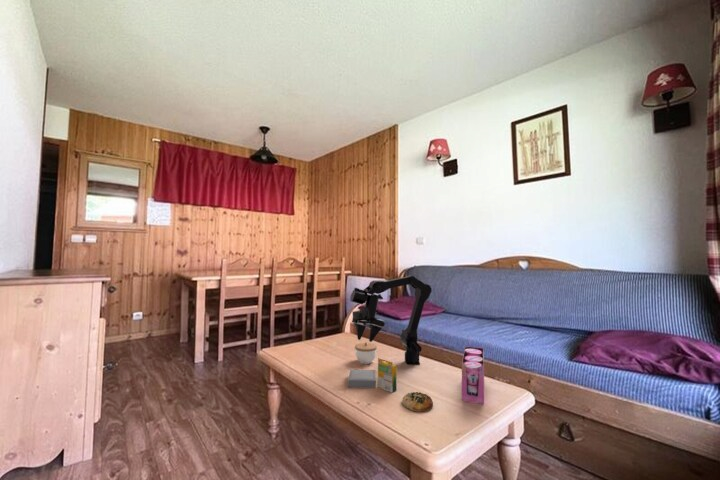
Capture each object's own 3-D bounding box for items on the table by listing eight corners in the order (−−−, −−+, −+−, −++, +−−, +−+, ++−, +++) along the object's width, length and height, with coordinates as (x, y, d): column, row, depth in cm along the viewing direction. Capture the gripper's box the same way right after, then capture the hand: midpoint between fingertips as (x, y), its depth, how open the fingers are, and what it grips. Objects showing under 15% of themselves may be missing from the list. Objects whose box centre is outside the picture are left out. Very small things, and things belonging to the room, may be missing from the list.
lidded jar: (377, 365, 146) (377, 345, 147) (354, 365, 147) (354, 345, 147) (376, 358, 157) (376, 339, 158) (355, 357, 157) (355, 339, 158)
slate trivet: (375, 376, 133) (375, 369, 133) (375, 388, 122) (375, 380, 122) (350, 376, 134) (350, 369, 134) (348, 387, 123) (348, 379, 123)
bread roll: (437, 401, 111) (436, 388, 111) (427, 420, 102) (426, 405, 101) (408, 395, 117) (407, 382, 117) (396, 412, 107) (395, 398, 107)
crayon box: (396, 390, 120) (396, 360, 121) (392, 393, 118) (392, 362, 119) (382, 385, 125) (382, 356, 126) (377, 387, 123) (377, 358, 123)
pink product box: (484, 406, 108) (484, 367, 109) (460, 402, 111) (460, 364, 112) (484, 380, 130) (484, 348, 131) (464, 377, 133) (464, 345, 134)
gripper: (346, 302, 149) (339, 335, 144) (369, 302, 134) (361, 339, 129) (364, 308, 155) (358, 340, 149) (388, 308, 139) (382, 344, 134)
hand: (364, 340), depth 140 cm, fingers open, 9 cm apart
